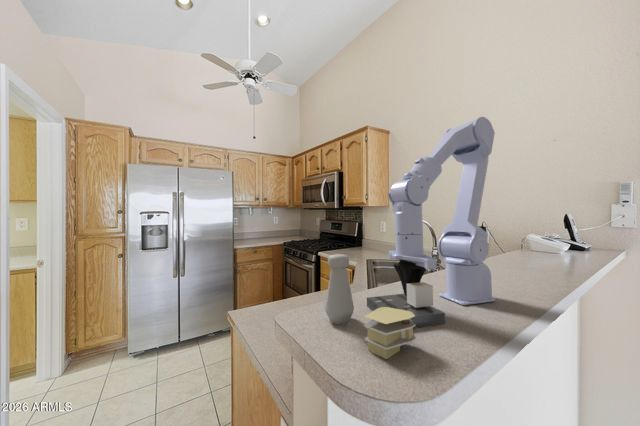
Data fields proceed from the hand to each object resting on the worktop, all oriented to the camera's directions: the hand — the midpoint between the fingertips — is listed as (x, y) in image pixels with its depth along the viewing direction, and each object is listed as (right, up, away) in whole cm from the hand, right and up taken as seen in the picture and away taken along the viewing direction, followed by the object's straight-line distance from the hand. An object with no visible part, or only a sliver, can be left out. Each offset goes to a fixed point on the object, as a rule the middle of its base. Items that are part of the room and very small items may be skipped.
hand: (410, 296), depth 54 cm
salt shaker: (-16, -3, -4) cm, 17 cm away
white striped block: (+1, -1, -3) cm, 3 cm away
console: (-3, -3, -2) cm, 4 cm away
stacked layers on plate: (-9, -3, -16) cm, 18 cm away
